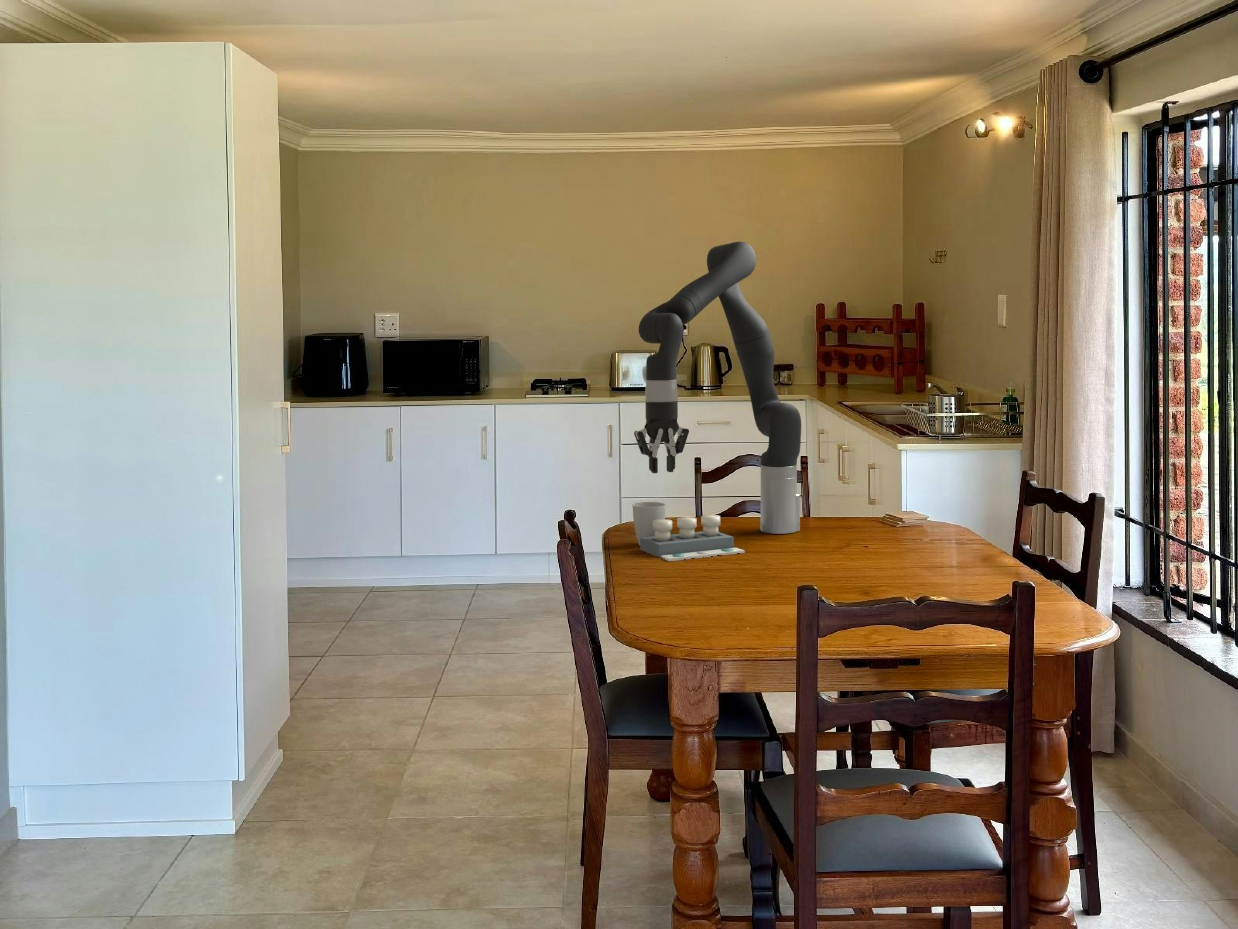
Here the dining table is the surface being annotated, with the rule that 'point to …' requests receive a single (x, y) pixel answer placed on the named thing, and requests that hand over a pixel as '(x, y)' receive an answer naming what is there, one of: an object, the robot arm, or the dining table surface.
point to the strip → (702, 554)
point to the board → (685, 544)
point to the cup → (647, 517)
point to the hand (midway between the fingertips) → (662, 472)
